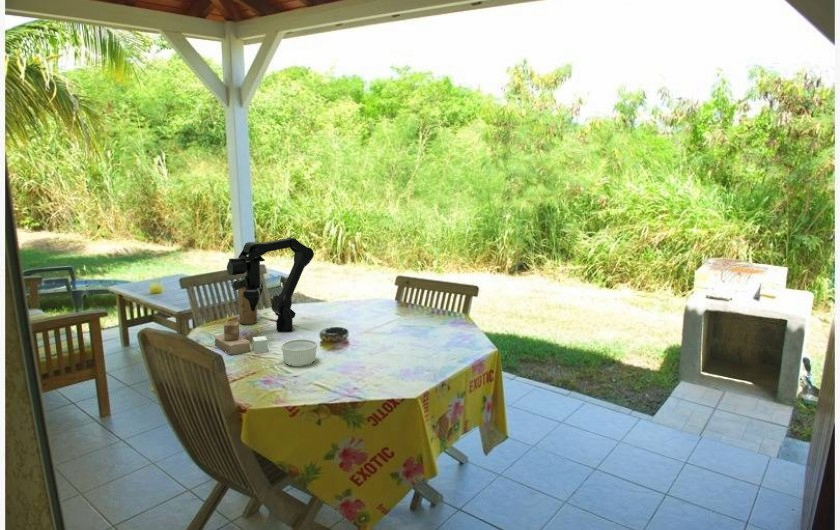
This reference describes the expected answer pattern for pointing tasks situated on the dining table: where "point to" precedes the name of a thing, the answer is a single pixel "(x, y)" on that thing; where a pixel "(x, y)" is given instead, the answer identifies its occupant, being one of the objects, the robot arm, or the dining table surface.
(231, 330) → the walnut block
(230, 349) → the brick
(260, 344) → the grey block
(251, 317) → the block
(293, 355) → the ramekin
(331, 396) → the dining table surface
